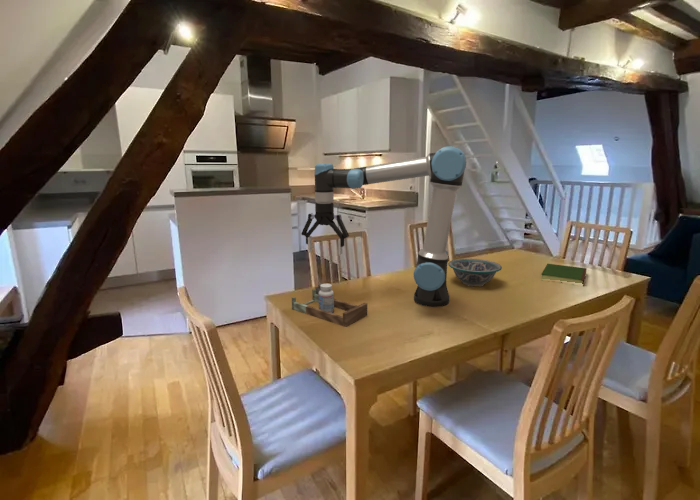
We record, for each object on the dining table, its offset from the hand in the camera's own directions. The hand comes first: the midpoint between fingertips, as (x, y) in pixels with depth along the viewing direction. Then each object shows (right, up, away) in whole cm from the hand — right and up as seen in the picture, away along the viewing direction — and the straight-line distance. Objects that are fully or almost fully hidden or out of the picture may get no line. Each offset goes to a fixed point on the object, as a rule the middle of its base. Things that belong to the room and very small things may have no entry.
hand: (325, 253), depth 167 cm
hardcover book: (+121, -13, +39) cm, 128 cm away
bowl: (+71, -15, +29) cm, 79 cm away
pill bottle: (+1, -24, -6) cm, 25 cm away
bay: (+3, -23, -5) cm, 24 cm away
